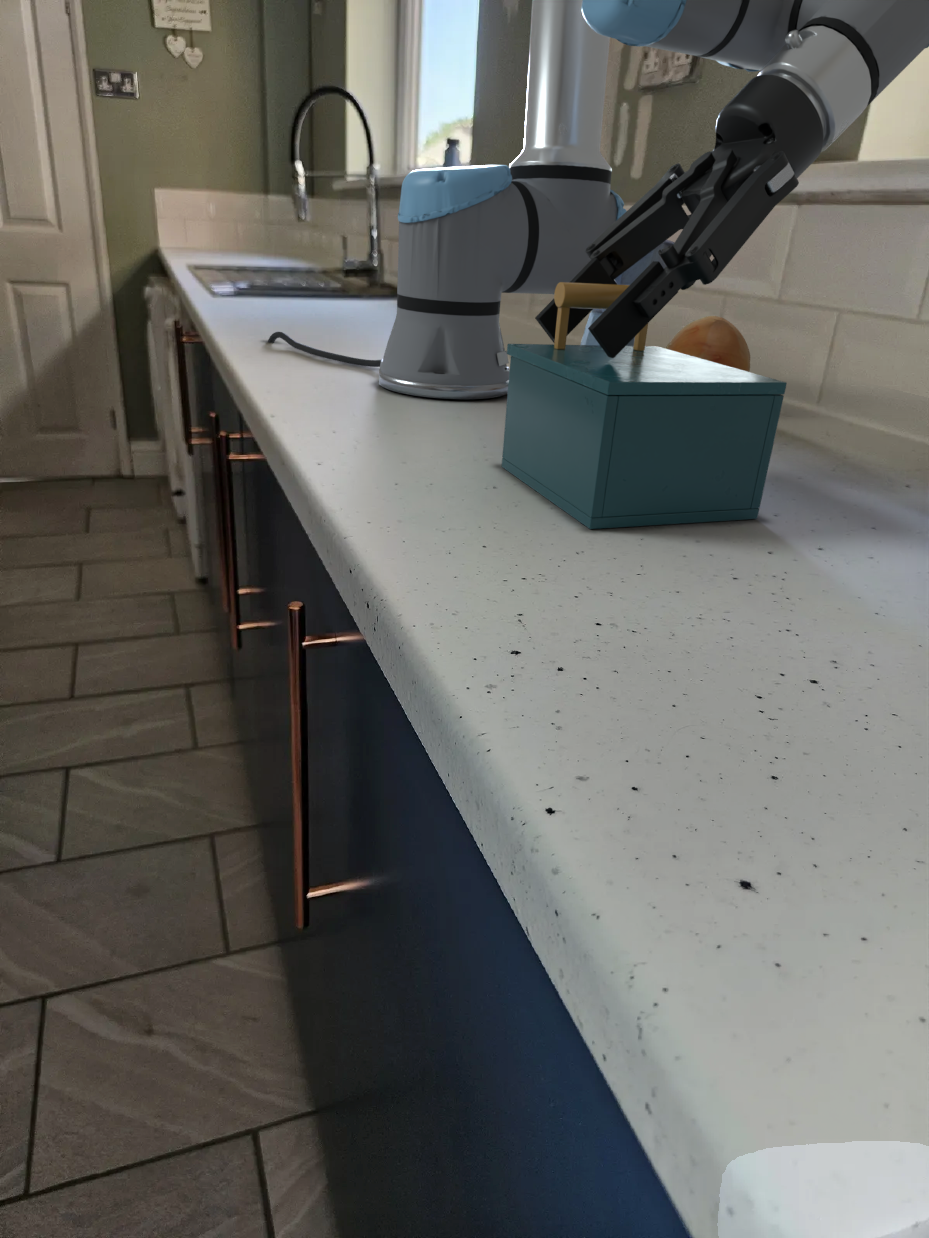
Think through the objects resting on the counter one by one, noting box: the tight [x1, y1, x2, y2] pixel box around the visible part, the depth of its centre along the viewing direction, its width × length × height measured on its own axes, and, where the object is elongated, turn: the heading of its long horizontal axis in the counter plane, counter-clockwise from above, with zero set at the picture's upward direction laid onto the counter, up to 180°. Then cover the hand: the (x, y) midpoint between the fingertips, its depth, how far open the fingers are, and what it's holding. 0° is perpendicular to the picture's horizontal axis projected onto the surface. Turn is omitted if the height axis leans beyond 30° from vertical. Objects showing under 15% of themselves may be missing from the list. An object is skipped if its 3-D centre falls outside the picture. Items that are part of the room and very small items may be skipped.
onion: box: [665, 315, 751, 372], centre depth 99 cm, size 10×10×10 cm
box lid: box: [506, 282, 787, 395], centre depth 62 cm, size 16×14×6 cm
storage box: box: [501, 356, 784, 530], centre depth 65 cm, size 16×14×9 cm
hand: (572, 336), depth 65 cm, fingers open, 8 cm apart
